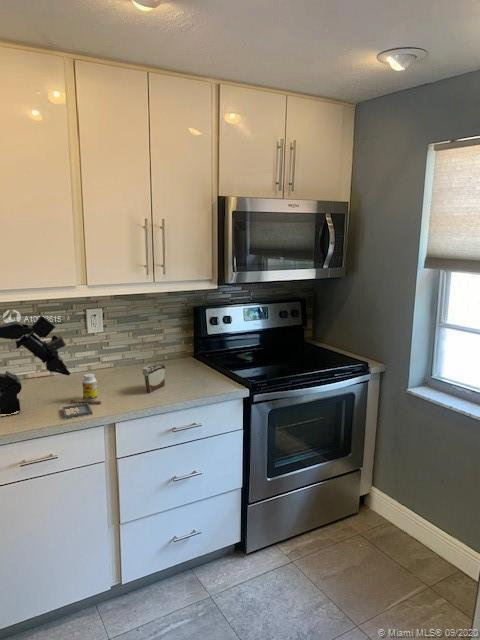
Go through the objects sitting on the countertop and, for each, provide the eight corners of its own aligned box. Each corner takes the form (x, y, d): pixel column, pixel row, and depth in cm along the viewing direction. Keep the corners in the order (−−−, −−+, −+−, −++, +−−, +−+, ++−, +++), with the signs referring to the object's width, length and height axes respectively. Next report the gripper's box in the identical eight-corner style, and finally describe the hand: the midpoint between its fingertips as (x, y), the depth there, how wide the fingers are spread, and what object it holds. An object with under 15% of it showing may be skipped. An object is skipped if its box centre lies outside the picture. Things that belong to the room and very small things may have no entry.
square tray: (65, 419, 171) (65, 416, 171) (62, 409, 180) (62, 407, 179) (92, 414, 176) (92, 411, 175) (88, 405, 184) (87, 402, 184)
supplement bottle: (80, 399, 190) (78, 375, 188) (90, 395, 195) (89, 372, 193) (90, 402, 188) (88, 378, 185) (100, 397, 192) (99, 374, 190)
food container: (156, 383, 210) (155, 362, 208) (167, 385, 206) (166, 364, 204) (137, 391, 199) (136, 369, 197) (148, 394, 196) (147, 371, 194)
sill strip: (70, 403, 186) (70, 401, 186) (71, 402, 187) (71, 400, 187) (100, 404, 185) (100, 401, 185) (101, 403, 187) (101, 400, 186)
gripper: (55, 335, 171) (86, 361, 178) (48, 326, 187) (77, 350, 194) (32, 358, 169) (65, 384, 176) (28, 346, 185) (58, 370, 192)
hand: (67, 371), depth 185 cm, fingers open, 9 cm apart
